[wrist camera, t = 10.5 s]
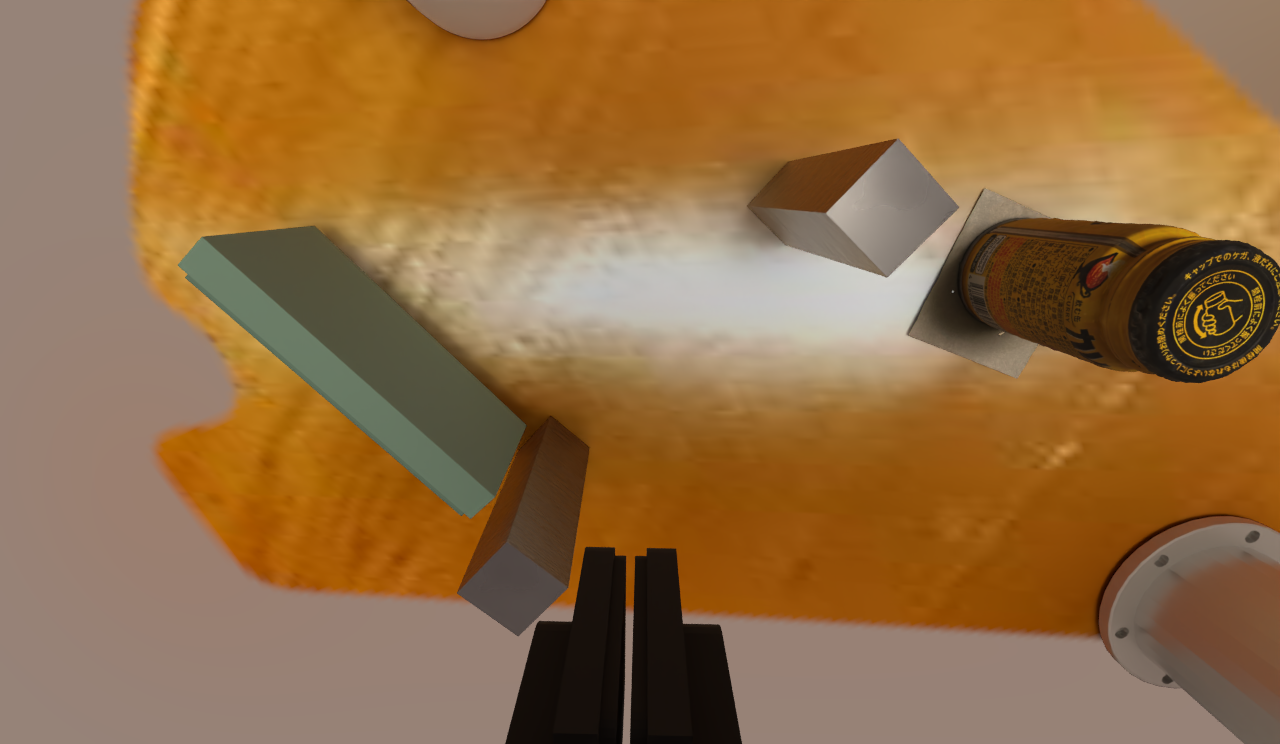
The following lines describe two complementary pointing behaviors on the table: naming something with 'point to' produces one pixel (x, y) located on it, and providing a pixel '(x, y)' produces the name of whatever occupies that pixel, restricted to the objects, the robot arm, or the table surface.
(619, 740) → the robot arm
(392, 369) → the gate
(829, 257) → the gate posts
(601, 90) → the table surface
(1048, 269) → the condiment
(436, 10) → the milk bottle
